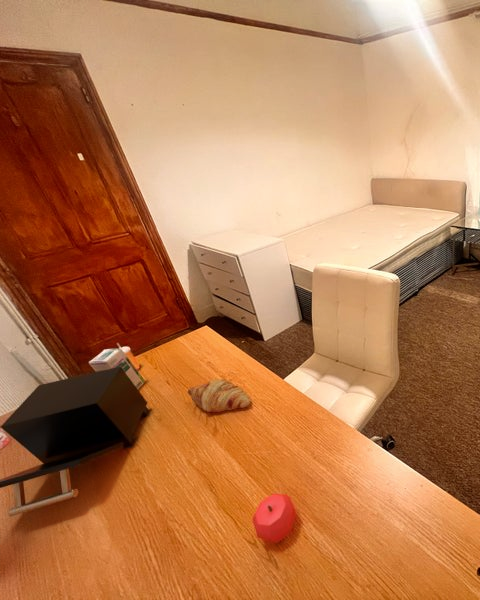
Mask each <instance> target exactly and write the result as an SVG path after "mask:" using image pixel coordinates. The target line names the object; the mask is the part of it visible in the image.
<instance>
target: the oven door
mask: <svg viewBox="0 0 480 600" xmlns="http://www.w3.org/2000/svg"><path fill="white" fill-rule="evenodd" d="M123 446H124V443H123V442H119V443H116V444H112V445H109V446H105V447H102V448H98V449H94V450H91V451H87V452H84V453H80V454H76V455H73V456H69V457H66V458H62V459H58V460H55V461H51V462H48V463H44V464H43V463H41V464H38V465H36V466H33V467H30V468H28V469H25V470H22V471H20V472H16V473H14V474H11V475H8V476H6V477H3V478H1V479H0V489H2V488H5V487H9V486H12V488H13V498H14V499H13V500H14V506H13V507H10V508H9V509H8V510H7V515H8V517H13V516H17V515H20V514H23V513H27V512H30V511H33V510H36V509H40V508H44V507H47V506H49V505H53V504H56V503H59V502H63V501H67V500H70V499H73V498H76V497H77V496H78V495H79V488H73V489H72V484H71V476H70V469H72V468H75V467H78V466H82V465H84V464H86V463H89V462H91V461H93V460H96V459H97V458H100V457H102V456H104V455H107V454H109V453H112V452H114V451H117V450H118V449H121V448H124V447H123ZM58 472H59V475H60V476H59V477H60V484H61V485H60V486H61V492H59V493H56V494H52V495H49V496H45V497H43V498H42V497H41V498H39V499H36V500H33V501H29V502H26V495H25V494H26V493H25V485H24V482H26V481H30V480H33V479H37V478H40V477H43V476H48V475H51V474H54V473H58Z"/></svg>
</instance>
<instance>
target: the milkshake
mask: <svg viewBox="0 0 480 600" xmlns="http://www.w3.org/2000/svg"><path fill="white" fill-rule="evenodd" d="M116 345H117V346H118V349H122V350H123V352H124V353H125V354H126V356H127V357H128V359H129V360H130V361H131V363H132V364H133V365H134V367H135V368H136V369H137V371H139V370H140V368H141V367H140V364H139V363H138V361H137V359H136V357H135V355H134V353H133V351H132V349H131V348H130V346H121V345H120V343H119V342H117V343H116Z"/></svg>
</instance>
